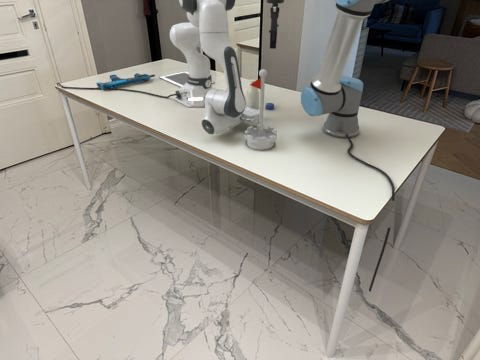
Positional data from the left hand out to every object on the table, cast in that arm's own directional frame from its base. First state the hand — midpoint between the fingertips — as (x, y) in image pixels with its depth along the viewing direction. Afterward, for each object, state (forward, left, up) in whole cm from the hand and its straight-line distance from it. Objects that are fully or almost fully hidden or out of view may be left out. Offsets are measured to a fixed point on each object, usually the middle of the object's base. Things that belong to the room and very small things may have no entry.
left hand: (252, 107), depth 157 cm
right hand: (-2, +17, +25) cm, 30 cm away
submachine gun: (-96, -5, -6) cm, 97 cm away
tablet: (-70, +21, -6) cm, 74 cm away
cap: (-2, +17, -4) cm, 17 cm away
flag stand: (+19, -18, -6) cm, 26 cm away
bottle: (0, 0, -6) cm, 6 cm away
